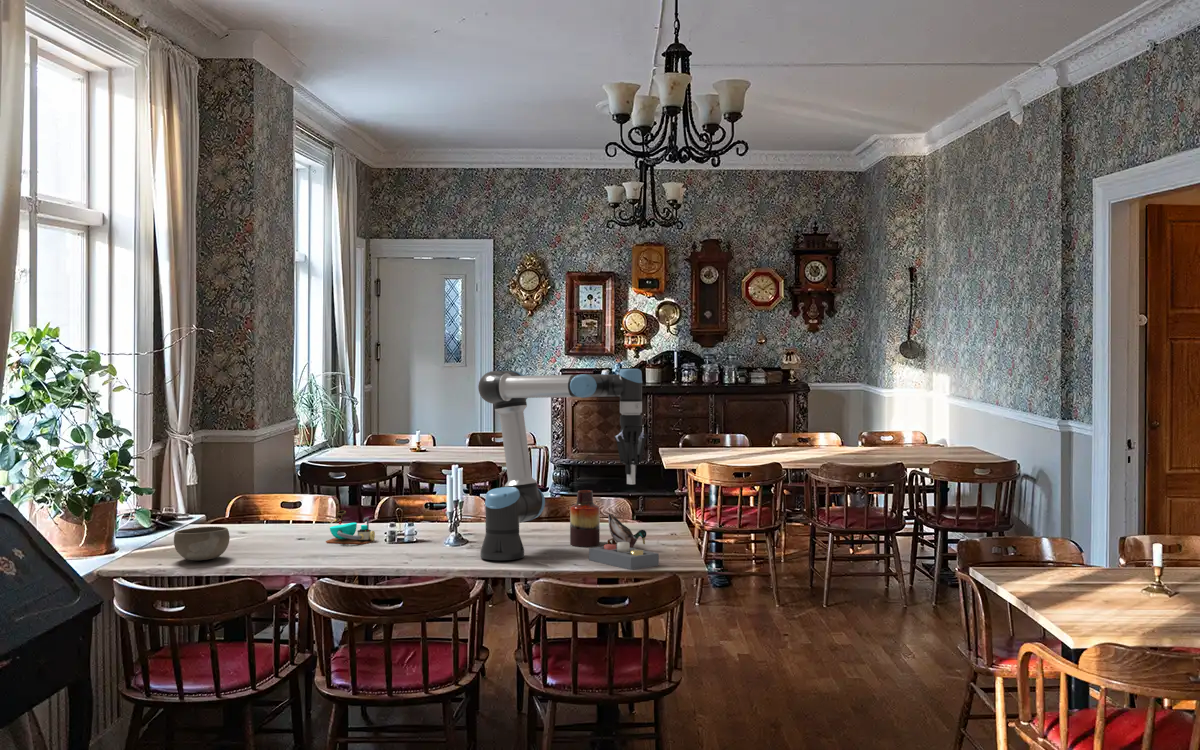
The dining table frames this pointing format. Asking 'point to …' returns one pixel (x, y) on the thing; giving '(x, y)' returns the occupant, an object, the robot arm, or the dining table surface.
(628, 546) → the ivory button
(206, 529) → the bowl
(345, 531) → the contraption on wooden base
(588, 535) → the vase
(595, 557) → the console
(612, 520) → the decorative duck model
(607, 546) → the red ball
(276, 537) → the dining table surface
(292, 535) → the dining table surface
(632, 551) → the gold rounded piece
